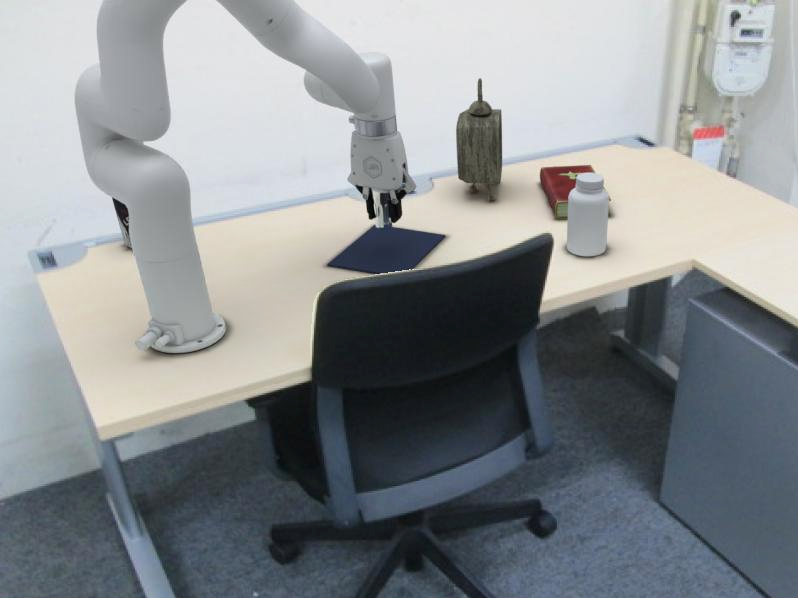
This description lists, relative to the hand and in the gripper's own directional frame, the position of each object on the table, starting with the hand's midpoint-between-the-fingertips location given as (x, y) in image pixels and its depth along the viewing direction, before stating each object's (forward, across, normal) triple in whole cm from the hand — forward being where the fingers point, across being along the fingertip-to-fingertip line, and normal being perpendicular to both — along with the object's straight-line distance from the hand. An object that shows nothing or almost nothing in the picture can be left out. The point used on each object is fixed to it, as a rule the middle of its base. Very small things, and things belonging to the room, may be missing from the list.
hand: (385, 217), depth 175 cm
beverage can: (+7, -48, -14) cm, 51 cm away
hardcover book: (+7, +27, +38) cm, 47 cm away
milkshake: (+2, 0, 0) cm, 2 cm away
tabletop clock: (+7, +6, +35) cm, 36 cm away
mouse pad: (+7, 0, 0) cm, 7 cm away
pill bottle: (+7, +37, +14) cm, 40 cm away
